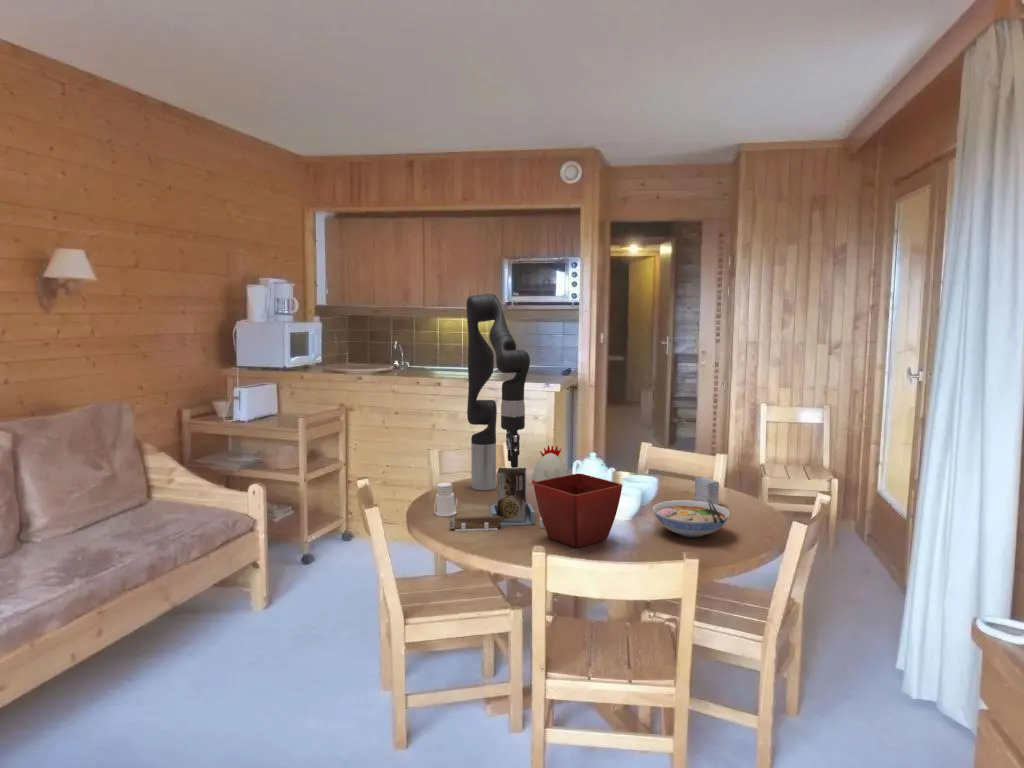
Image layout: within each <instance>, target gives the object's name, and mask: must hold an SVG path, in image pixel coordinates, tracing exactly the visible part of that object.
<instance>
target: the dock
mask: <svg viewBox="0 0 1024 768" xmlns="http://www.w3.org/2000/svg"><path fill="white" fill-rule="evenodd" d="M526 514H527V518H526V522H501V527H504V526H505V527H507V526H535V525H536V511H535V508H534V507H533V505H532V503H531V502H529V503H527V502H526ZM489 516H498V503H497V504H496V503H493V504H489Z"/></svg>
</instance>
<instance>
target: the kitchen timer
mask: <svg viewBox="0 0 1024 768" xmlns="http://www.w3.org/2000/svg"><path fill="white" fill-rule="evenodd" d="M558 449H559V447H558V445H556V446H555V449H554V446H553V444H551V449H550V445H549V444H547V448H545V447H543V451H544V453H543V452H542V451H541V450H540V454H541V457H540V458H539V459H538V460H537V462H536V463H535V465H534V468H533V472H532V476H531V483H532V485H533V486H534V482H537V481H542V480H547V479H552V478H557V477H562V476H567V475H568V472H567V470H566V469H567V468H566V465H567V464H566V463H564V462H563V460H562V459H561V457H560V456H559V455H560V453H561V451H562V448H560V449H559V450H558Z"/></svg>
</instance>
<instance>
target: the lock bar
mask: <svg viewBox="0 0 1024 768" xmlns="http://www.w3.org/2000/svg"><path fill="white" fill-rule="evenodd" d="M461 523H465V528H484V523H488V528H492V527H497V528H501V527H502V526H501V517H500V516H490V515H488V516H487V515H486V516H483V515H482V516H455V517H454V518H449V528H454V530H455V529H461Z"/></svg>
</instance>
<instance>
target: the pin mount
mask: <svg viewBox="0 0 1024 768" xmlns="http://www.w3.org/2000/svg"><path fill="white" fill-rule="evenodd" d="M538 518H539V520H538V521H539V527H540V529H545V527H544V524H543V521H542V518H541V516H539V517H538ZM498 528H499V527H492V528H488V523H484V528H465V523H461V529H455V528H454V531H455V532H461V533H466V532H468V531H469V532H470V531H473V532H477V531H479V532H480V531H484V532H489V531H498Z"/></svg>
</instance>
